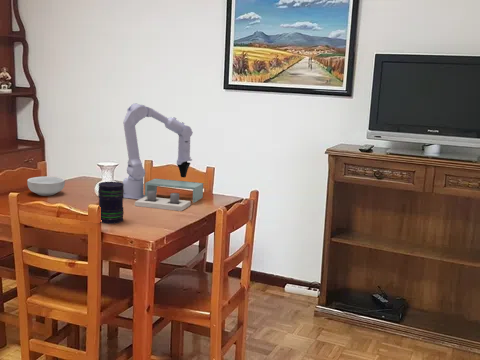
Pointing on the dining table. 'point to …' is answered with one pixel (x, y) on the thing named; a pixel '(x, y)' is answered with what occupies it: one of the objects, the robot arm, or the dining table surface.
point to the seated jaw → (174, 198)
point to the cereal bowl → (46, 185)
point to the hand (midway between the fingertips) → (183, 177)
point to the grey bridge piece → (176, 186)
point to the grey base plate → (162, 204)
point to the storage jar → (111, 202)
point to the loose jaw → (151, 196)
